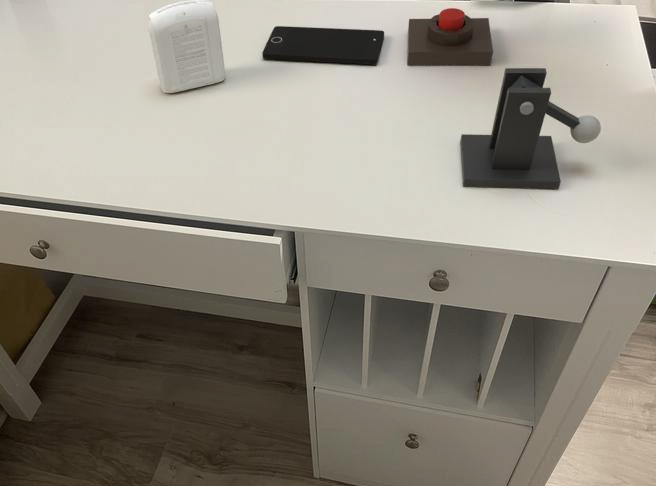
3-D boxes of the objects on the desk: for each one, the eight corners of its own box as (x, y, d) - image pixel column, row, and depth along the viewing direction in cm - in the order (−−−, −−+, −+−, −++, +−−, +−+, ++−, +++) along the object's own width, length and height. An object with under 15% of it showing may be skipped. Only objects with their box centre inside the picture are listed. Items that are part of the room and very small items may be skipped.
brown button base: (486, 31, 104) (490, 6, 101) (490, 65, 98) (495, 40, 95) (407, 31, 106) (410, 7, 103) (407, 65, 100) (409, 40, 97)
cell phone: (274, 31, 110) (274, 25, 109) (384, 35, 106) (385, 30, 105) (261, 59, 104) (261, 53, 104) (376, 65, 100) (377, 59, 99)
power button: (462, 19, 100) (464, 7, 99) (463, 31, 98) (465, 19, 96) (438, 19, 100) (439, 8, 99) (438, 31, 98) (439, 20, 97)
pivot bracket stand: (549, 143, 85) (574, 58, 76) (558, 189, 79) (586, 103, 70) (460, 141, 87) (474, 58, 78) (462, 186, 81) (478, 102, 72)
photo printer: (222, 68, 104) (211, -11, 95) (229, 82, 101) (218, 2, 92) (158, 83, 103) (140, 5, 93) (163, 98, 100) (146, 18, 91)
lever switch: (583, 136, 80) (604, 117, 78) (587, 153, 78) (609, 133, 76) (503, 91, 77) (523, 69, 75) (505, 107, 75) (526, 85, 73)
